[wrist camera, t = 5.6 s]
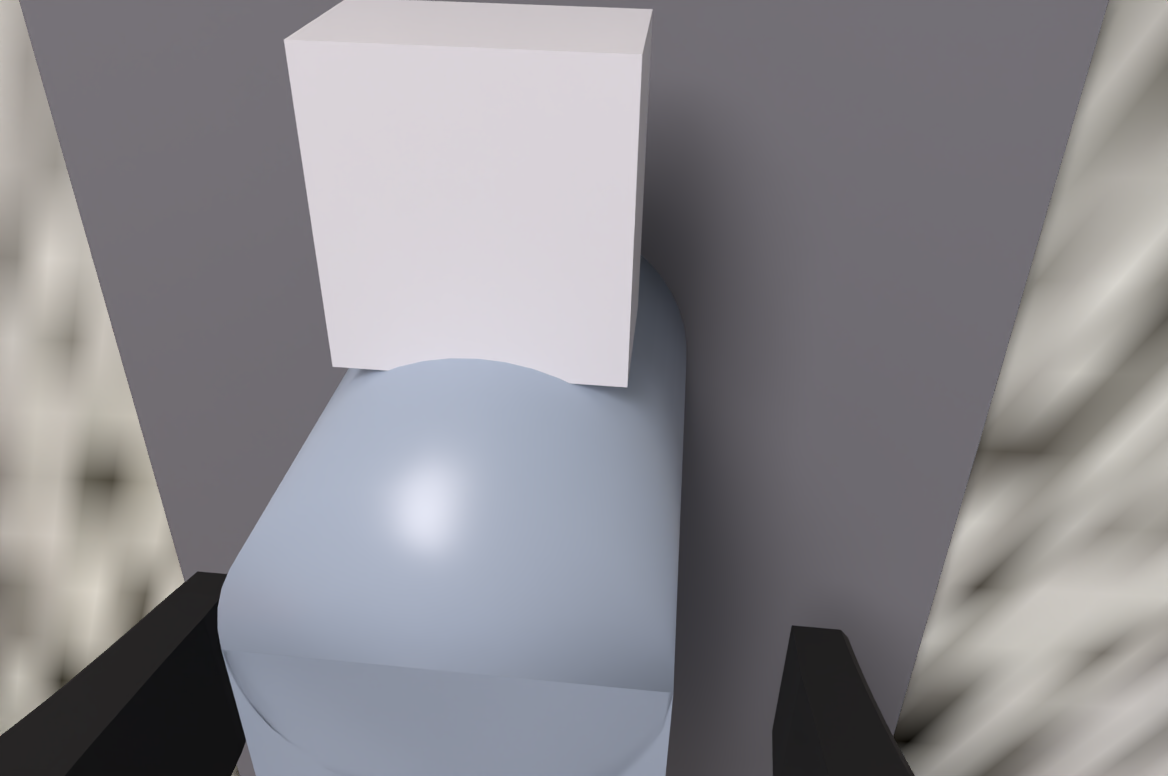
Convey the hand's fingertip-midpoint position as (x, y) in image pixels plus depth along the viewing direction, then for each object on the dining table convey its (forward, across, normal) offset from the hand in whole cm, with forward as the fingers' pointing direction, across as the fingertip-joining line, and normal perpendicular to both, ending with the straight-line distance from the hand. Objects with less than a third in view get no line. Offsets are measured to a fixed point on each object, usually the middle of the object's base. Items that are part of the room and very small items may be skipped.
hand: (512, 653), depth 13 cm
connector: (+2, 0, -2) cm, 3 cm away
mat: (+3, 0, -1) cm, 3 cm away
